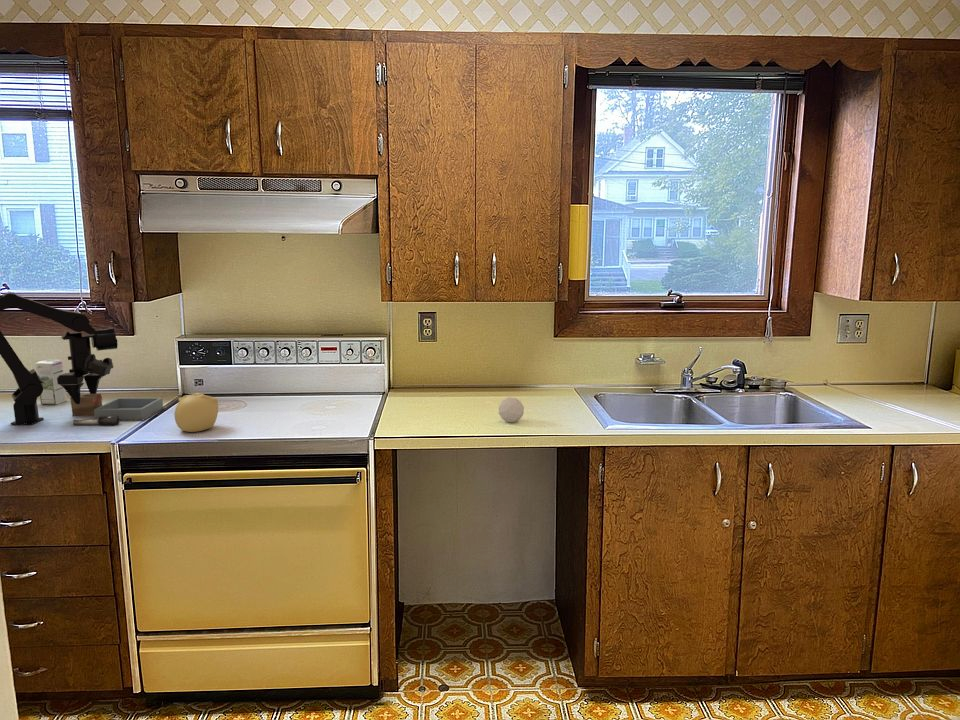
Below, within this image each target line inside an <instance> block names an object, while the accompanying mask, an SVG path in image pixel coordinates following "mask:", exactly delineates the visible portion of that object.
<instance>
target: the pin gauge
mask: <svg viewBox="0 0 960 720" xmlns="http://www.w3.org/2000/svg"><path fill="white" fill-rule="evenodd" d="M119 424H120V420H119V417H118V416H100V417H99V419H98V420H95V419H73V420H72V425H73V426H118V425H119Z"/></svg>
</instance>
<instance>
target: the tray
mask: <svg viewBox="0 0 960 720" xmlns="http://www.w3.org/2000/svg"><path fill="white" fill-rule="evenodd" d="M163 409H164V402H163V397H117V398H115V399H113V400H110V401H109V402H107V403H104V404H102V406H100V407H98V408H96V409H94V415H95V416H94V420H98V419H99V417H100V416H118V417H119V421H144V420H146V419H148V418H149V417H151V416H152V415H155V414H156V413H158V412H159V411H161V410H163ZM145 418H146V419H145ZM143 419H144V420H143Z"/></svg>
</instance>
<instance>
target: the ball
mask: <svg viewBox="0 0 960 720" xmlns="http://www.w3.org/2000/svg"><path fill="white" fill-rule="evenodd" d="M524 412H525V406H524V405H523V403H522V402H521V401H520V400H519V399H518V398H517V397H509V396H508V397H506V398H505V399H503V400H502V401H501V402H500V404H499V406H498V415H499V417H500V418H501V420H503V421H504V422H506V423H512V424H514V423H516V422H518V421H520V420H521V419H522V417H523V416H524Z"/></svg>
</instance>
